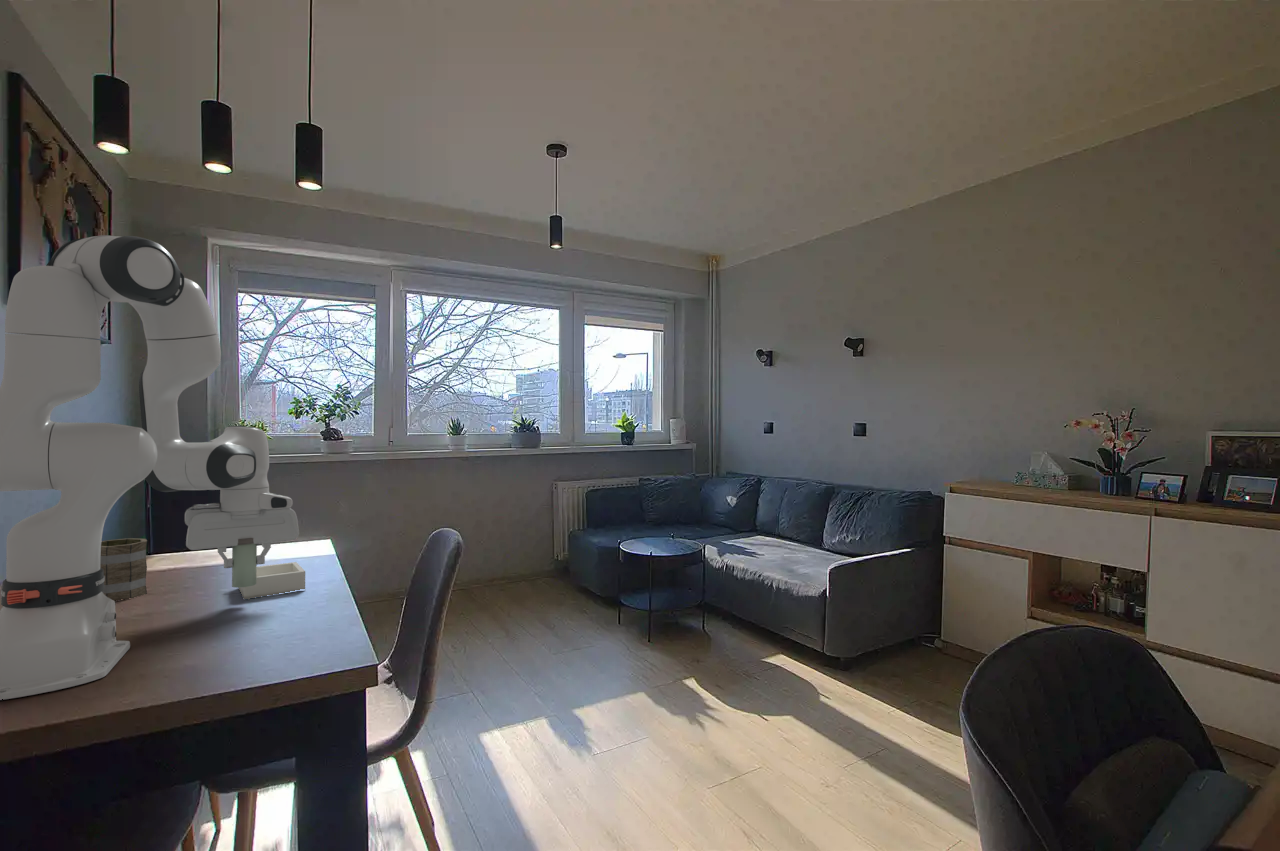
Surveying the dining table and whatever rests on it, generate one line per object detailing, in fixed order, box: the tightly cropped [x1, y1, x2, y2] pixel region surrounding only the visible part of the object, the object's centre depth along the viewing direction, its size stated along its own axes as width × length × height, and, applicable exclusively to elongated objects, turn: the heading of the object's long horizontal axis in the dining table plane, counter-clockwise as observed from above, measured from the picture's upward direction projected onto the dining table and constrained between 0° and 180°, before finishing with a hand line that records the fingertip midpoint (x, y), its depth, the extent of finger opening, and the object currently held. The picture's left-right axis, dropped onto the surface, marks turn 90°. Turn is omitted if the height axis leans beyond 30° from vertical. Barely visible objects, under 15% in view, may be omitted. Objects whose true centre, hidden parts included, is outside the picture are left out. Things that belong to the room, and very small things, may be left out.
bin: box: [238, 561, 306, 600], centre depth 142 cm, size 12×12×5 cm
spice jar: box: [231, 538, 258, 588], centre depth 130 cm, size 5×5×10 cm
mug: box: [100, 537, 148, 602], centre depth 137 cm, size 16×11×12 cm
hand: (244, 565), depth 130 cm, fingers closed on spice jar, 4 cm apart
